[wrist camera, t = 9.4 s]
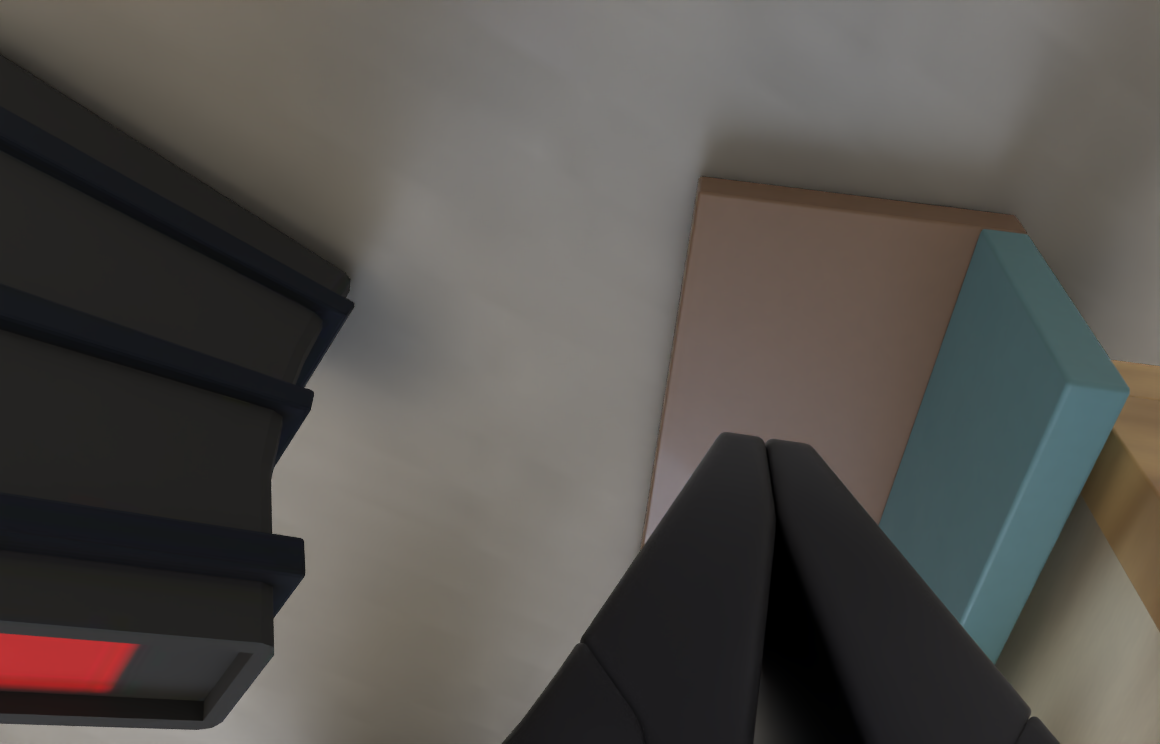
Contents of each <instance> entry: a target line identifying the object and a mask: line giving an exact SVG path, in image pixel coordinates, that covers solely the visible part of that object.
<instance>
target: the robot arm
mask: <svg viewBox="0 0 1160 744" xmlns="http://www.w3.org/2000/svg"><path fill="white" fill-rule="evenodd" d="M1030 715H1031V709H1030V707H1029V706H1028V705H1027V703H1026V702H1025V701H1024V700H1023V699H1022V697H1021V696H1020V695H1019V694H1018V693H1017V691H1016V690H1015V689H1014V688H1013V687H1012V685H1011V684H1010V683H1009V682H1008V681H1007V679H1006V678H1005V677H1004V676H1003V675H1002V673H1001V672H1000V671H999V670H998V669H997V667H996V666H995V665H994V664H993V663H992V661H991V660H990V659H989V658H988V657H987V655H986V654H985V653H984V652H983V651H982V649H981V648H980V647H979V646H978V645H977V643H976V642H975V641H974V640H973V639H972V637H971V636H970V635H969V634H968V633H967V631H966V630H965V629H964V628H963V627H962V625H961V624H960V623H959V622H958V621H957V619H956V618H955V617H954V616H953V615H952V613H951V612H950V611H949V610H948V609H947V607H946V606H945V605H944V604H943V603H942V601H941V600H940V599H939V598H938V597H937V595H936V594H935V593H934V592H933V591H932V589H931V588H930V587H929V586H928V585H927V583H926V582H925V581H924V580H923V579H922V577H921V576H920V575H919V574H918V573H917V571H916V570H915V569H914V568H913V567H912V565H911V564H910V563H909V562H908V561H907V559H906V558H905V557H904V556H903V555H902V553H901V552H900V551H899V550H898V549H897V547H896V546H895V545H894V544H893V543H892V541H891V540H890V539H889V538H888V537H887V535H886V534H885V533H884V532H883V531H882V529H881V528H880V527H879V526H878V525H877V523H876V522H875V521H874V520H873V519H872V517H871V516H870V515H869V514H868V513H867V511H866V510H865V509H864V508H863V507H862V505H861V504H860V503H859V502H858V501H857V499H856V498H855V497H854V496H853V495H852V493H851V492H850V491H849V490H848V489H847V487H846V486H845V485H844V484H843V483H842V481H841V480H840V479H839V478H838V477H837V475H836V474H835V473H834V472H833V471H832V469H831V468H830V467H829V466H828V465H827V463H826V462H825V461H824V460H823V459H822V457H821V456H820V455H819V454H818V453H817V451H816V450H815V449H814V448H813V447H812V446H810V445H809V444H806V443H800V442H793V441H786V440H779V439H770V440H768V441H767V442H766V443H765V442H764V440H763V439H762V438H760V437H758V436H751V435H744V434H737V433H731V432H723V433H721V434H720V435H719V436H718V437H717V438H716V440H715V441H714V443H713V444H712V446H711V447H710V449H709V450H708V452H707V453H706V455H705V456H704V458H703V459H702V460H701V462H700V463H699V465H698V466H697V468H696V469H695V471H694V472H693V474H692V475H691V477H690V478H689V480H688V481H687V483H686V484H685V486H684V487H683V489H682V490H681V491H680V493H679V494H678V496H677V497H676V499H675V500H674V502H673V503H672V505H671V506H670V508H669V509H668V511H667V512H666V514H665V515H664V517H663V518H662V520H661V521H660V522H659V524H658V525H657V527H656V528H655V530H654V531H653V533H652V534H651V536H650V537H649V539H648V540H647V542H646V543H645V545H644V546H643V548H642V549H641V551H640V552H639V553H638V555H637V556H636V558H635V559H634V561H633V562H632V564H631V565H630V567H629V568H628V570H627V571H626V573H625V574H624V576H623V577H622V579H621V580H620V582H619V583H618V584H617V586H616V587H615V589H614V590H613V592H612V593H611V595H610V596H609V598H608V599H607V601H606V602H605V604H604V605H603V607H602V608H601V610H600V611H599V613H598V614H597V615H596V617H595V618H594V620H593V621H592V623H591V624H590V626H589V627H588V629H587V630H586V632H585V633H584V635H583V636H582V638H581V640H580V643H579V644H577V645H576V646H575V647H574V649H573V650H572V651H571V653H570V654H569V656H568V657H567V659H566V660H565V662H564V663H563V665H562V666H561V668H560V669H559V671H558V672H557V674H556V675H555V676H554V678H553V679H552V680H551V682H550V683H549V684H548V686H547V687H546V688H545V690H544V691H543V693H542V694H541V695H540V697H539V698H538V699H537V701H536V702H535V703H534V705H533V706H532V707H531V709H530V710H529V711H528V713H527V714H526V715H525V717H524V718H523V719H522V721H521V722H520V723H519V724H518V725H517V726H516V728H515V729H514V730H513V731H512V732H511V733H510V734H509V736H508V737H507V738H506V739H505V740H504V741H503V743H502V744H1060V743H1059V741H1058V740H1057V739H1056V738H1055V737H1054V735H1053V734H1052V733H1051V732H1050V731H1049V729H1048V728H1047V727H1046V726H1045V725H1044V723H1043V722H1042V721H1041V720H1040V719H1039V718H1038V717H1034V716H1033V717H1030ZM1029 717H1030V718H1029Z"/></svg>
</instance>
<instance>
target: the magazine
mask: <svg viewBox="0 0 1160 744" xmlns="http://www.w3.org/2000/svg"><path fill="white" fill-rule="evenodd" d="M350 280H351V279H350V278H349V277H348V276H347V275H346V273H344V272H343V271H341V270H340V269H338V268H337V267H335V266H333V265H332V264H330V263H329V262H327V261H325V260H324V259H322V258H321V257H319V256H318V255H316V254H314V253H313V252H311V251H310V250H308V249H306V248H305V247H303V246H302V245H300V244H299V243H297V242H295V241H294V240H292V239H291V238H289V237H288V236H286V235H284V234H283V233H281V232H280V231H278V230H276V229H275V228H273V227H272V226H270V225H269V224H267V223H265V222H264V221H262V220H261V219H259V218H257V217H256V216H254V215H253V214H251V213H250V212H248V211H246V210H245V209H243V208H242V207H240V206H239V205H237V204H235V203H234V202H232V201H231V200H229V199H227V198H226V197H224V196H223V195H221V194H220V193H218V192H216V191H215V190H213V189H212V188H210V187H208V186H207V185H205V184H204V183H202V182H201V181H199V180H197V179H196V178H194V177H193V176H191V175H190V174H188V173H186V172H185V171H183V170H182V169H180V168H178V167H177V166H175V165H174V164H172V163H171V162H169V161H167V160H166V159H164V158H163V157H161V156H159V155H158V154H156V153H155V152H153V151H152V150H150V149H148V148H147V147H145V146H144V145H142V144H140V143H139V142H137V141H136V140H134V139H133V138H131V137H129V136H128V135H126V134H125V133H123V132H122V131H120V130H118V129H117V128H115V127H114V126H112V125H110V124H109V123H107V122H106V121H104V120H103V119H101V118H99V117H98V116H96V115H95V114H93V113H91V112H90V111H88V110H87V109H85V108H84V107H82V106H80V105H79V104H77V103H76V102H74V101H73V100H71V99H69V98H68V97H66V96H65V95H63V94H61V93H60V92H58V91H57V90H55V89H54V88H52V87H50V86H49V85H47V84H46V83H44V82H42V81H41V80H39V79H38V78H36V77H35V76H33V75H31V74H30V73H28V72H27V71H25V70H24V69H22V68H20V67H19V66H17V65H16V64H14V63H12V62H11V61H9V60H8V59H6V58H5V57H3V56H1V55H0V723H1V724H33V725H64V726H95V727H126V728H157V729H189V730H199V729H206V728H212V727H214V726H216V725H218V724H219V723H221V722H223V720H224V719H225V718H226V716H227V715H228V714H229V713H230V711H231V710H232V709H233V707H234V706H235V705H236V704H237V702H238V701H239V700H240V698H241V697H242V696H243V694H244V693H245V692H246V691H247V689H248V688H249V687H250V685H251V684H252V683H253V681H254V680H255V679H256V678H257V676H258V675H259V674H260V672H261V671H262V670H263V669H264V667H265V666H266V665H267V663H268V662H269V661H270V659H271V658H272V657H273V656H274V626H273V618H274V617H275V616H276V614H277V613H278V612H279V610H280V609H281V607H282V606H283V605H284V603H285V602H286V601H287V599H288V598H289V597H290V595H291V594H292V593H293V591H294V590H295V589H296V587H297V586H298V585H299V583H300V582H301V580H302V579H303V578H304V576H305V554H304V540H303V539H301V538H296V537H290V536H283V535H277V534H272V506H271V478H272V473H273V469H274V467H275V465H276V464H277V462H278V460H279V459H280V457H281V456H282V454H283V453H284V451H285V450H286V448H287V446H288V445H289V443H290V442H291V440H292V439H293V437H294V435H295V434H296V432H297V431H298V429H299V428H300V426H301V424H302V423H303V421H304V420H305V418H306V417H307V415H308V414H309V412H310V410H311V406H312V402H313V397H314V392H313V391H312V390H309V389H306V388H304V387H305V385H306V384H307V382H308V381H309V379H310V377H311V376H312V374H313V372H314V371H315V369H316V368H317V366H318V364H319V363H320V361H321V360H322V358H323V356H324V355H325V353H326V352H327V350H328V348H329V347H330V345H331V343H332V342H333V340H334V339H335V337H336V335H337V334H338V332H339V331H340V329H341V327H342V326H343V324H344V323H345V321H346V319H347V318H348V316H349V314H350V313H351V311H352V310H353V308H354V303H353V302H352V301H350V300H348V299H346V296H347V295H348V293H349V291H350Z"/></svg>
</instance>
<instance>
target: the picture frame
mask: <svg viewBox="0 0 1160 744" xmlns="http://www.w3.org/2000/svg"><path fill="white" fill-rule="evenodd" d="M1111 361H1112V362H1113V364H1114V365H1115V367H1116V368H1117V370H1118V371H1119V373H1120V374H1121V376H1122V377H1123V379H1124V380H1125V382H1126V384H1127V385H1128V387H1129V388H1130V394H1129V396H1128V398H1127V400H1126V402H1125V404H1124V406H1123V408H1122V410H1121V412H1120V414H1119V416H1118V418H1117V420H1116V422H1115V424H1114V426H1113V428H1112V430H1111V432H1110V435H1109V437H1108V439H1107V441H1106V443H1105V445H1104V447H1103V449H1102V451H1101V453H1100V455H1099V457H1098V459H1097V461H1096V463H1095V465H1094V467H1093V469H1092V471H1091V473H1090V475H1089V477H1088V479H1087V481H1086V483H1085V485H1084V487H1083V489H1082V491H1081V493H1080V495H1079V497H1078V499H1077V501H1076V503H1075V505H1074V507H1073V509H1072V511H1071V513H1070V515H1069V517H1068V519H1067V521H1066V523H1065V525H1064V527H1063V529H1062V531H1061V533H1060V535H1059V537H1058V539H1057V541H1056V543H1055V545H1054V547H1053V549H1052V551H1051V553H1050V555H1049V557H1048V559H1047V561H1046V563H1045V565H1044V567H1043V569H1042V571H1041V573H1040V575H1039V577H1038V579H1037V581H1036V583H1035V585H1034V587H1033V589H1032V591H1031V593H1030V595H1029V597H1028V599H1027V601H1026V603H1025V605H1024V607H1023V609H1022V611H1021V613H1020V615H1019V617H1018V619H1017V621H1016V624H1015V626H1014V628H1013V630H1012V632H1011V634H1010V636H1009V638H1008V640H1007V642H1006V644H1005V646H1004V648H1003V650H1002V652H1001V654H1000V656H999V658H998V660H997V662H996V664H995V666H996V667H997V669H998V670H999V671H1000V672H1001V673H1002V675H1003V676H1004V677H1005V678H1006V679H1007V681H1008V682H1009V683H1010V684H1011V685H1012V687H1013V688H1014V689H1015V690H1016V691H1017V693H1018V694H1019V695H1020V696H1021V697H1022V699H1023V700H1024V701H1025V702H1026V703H1027V705H1028V706H1029V707H1030V709H1031V715H1030V717H1033V716H1034V717H1038V718H1039V719H1040V720H1041V721H1042V722H1043V723H1044V725H1045V726H1046V727H1047V728H1048V729H1049V731H1050V732H1051V733H1052V734H1053V735H1054V737H1055V738H1056V739H1057V740H1058V741H1059V743H1060V744H1160V366H1154V365H1147V364H1139V363H1132V362H1124V361H1117V360H1111ZM1030 717H1029V718H1030Z"/></svg>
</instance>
